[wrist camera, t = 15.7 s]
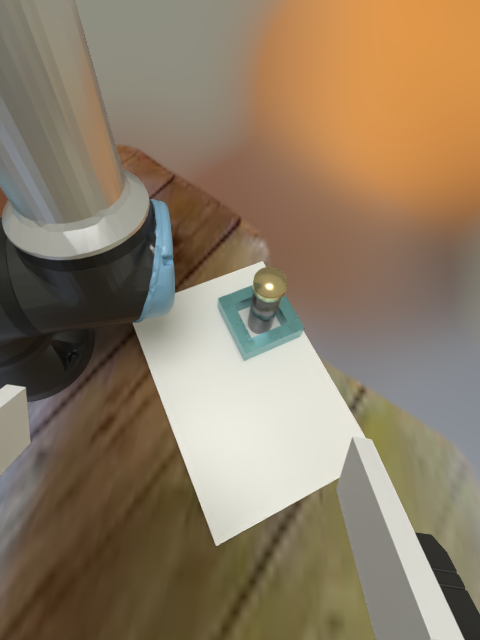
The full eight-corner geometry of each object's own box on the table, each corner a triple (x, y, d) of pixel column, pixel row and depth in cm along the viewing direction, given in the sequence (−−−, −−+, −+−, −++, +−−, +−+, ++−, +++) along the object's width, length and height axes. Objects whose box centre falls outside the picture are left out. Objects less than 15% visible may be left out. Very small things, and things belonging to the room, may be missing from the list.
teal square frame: (217, 307, 51) (217, 298, 48) (271, 287, 53) (274, 276, 50) (243, 361, 48) (245, 353, 45) (300, 336, 50) (304, 328, 47)
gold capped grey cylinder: (241, 316, 50) (247, 273, 40) (265, 307, 51) (277, 262, 41) (253, 339, 49) (263, 301, 39) (278, 329, 50) (294, 288, 40)
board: (129, 313, 51) (127, 310, 50) (261, 264, 56) (262, 261, 55) (216, 544, 39) (216, 546, 38) (373, 456, 44) (376, 456, 43)
